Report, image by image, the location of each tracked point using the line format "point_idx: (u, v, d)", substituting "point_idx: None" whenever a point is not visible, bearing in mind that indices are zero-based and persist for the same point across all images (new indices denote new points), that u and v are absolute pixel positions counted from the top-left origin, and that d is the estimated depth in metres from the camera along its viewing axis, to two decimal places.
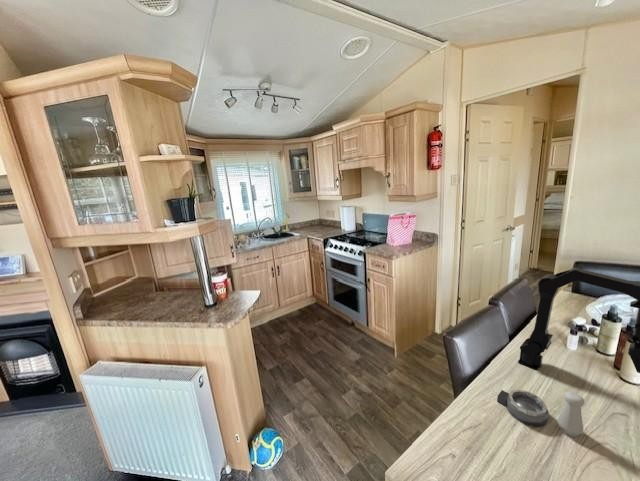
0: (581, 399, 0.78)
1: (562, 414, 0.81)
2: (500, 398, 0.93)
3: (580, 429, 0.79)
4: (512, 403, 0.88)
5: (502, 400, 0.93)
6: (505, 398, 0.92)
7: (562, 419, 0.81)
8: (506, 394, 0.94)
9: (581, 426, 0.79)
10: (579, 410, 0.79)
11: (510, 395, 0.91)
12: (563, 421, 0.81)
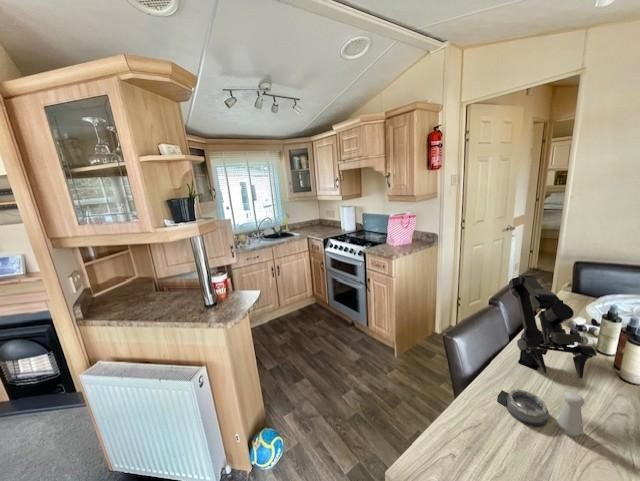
0: (581, 399, 0.78)
1: (562, 414, 0.81)
2: (500, 398, 0.93)
3: (580, 429, 0.79)
4: (512, 403, 0.88)
5: (502, 400, 0.93)
6: (505, 398, 0.92)
7: (562, 419, 0.81)
8: (506, 394, 0.94)
9: (581, 426, 0.79)
10: (579, 410, 0.79)
11: (510, 395, 0.91)
12: (563, 421, 0.81)
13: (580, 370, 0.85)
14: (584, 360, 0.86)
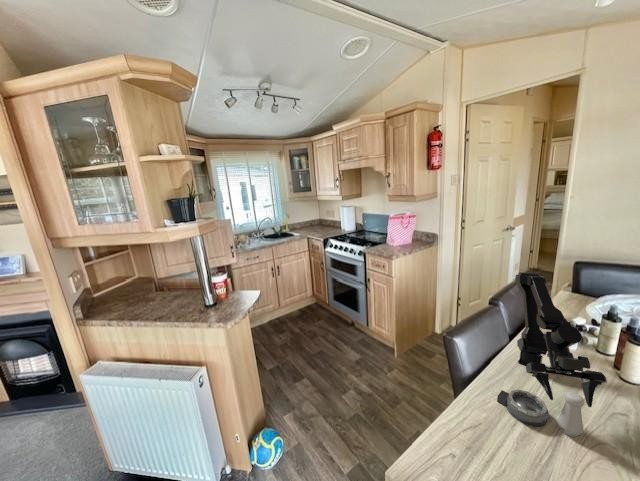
0: (581, 399, 0.78)
1: (562, 414, 0.81)
2: (500, 398, 0.93)
3: (580, 429, 0.79)
4: (512, 403, 0.88)
5: (502, 400, 0.93)
6: (505, 398, 0.92)
7: (562, 419, 0.81)
8: (506, 394, 0.94)
9: (581, 426, 0.79)
10: (579, 410, 0.79)
11: (510, 395, 0.91)
12: (563, 421, 0.81)
13: (589, 398, 0.80)
14: (593, 387, 0.81)
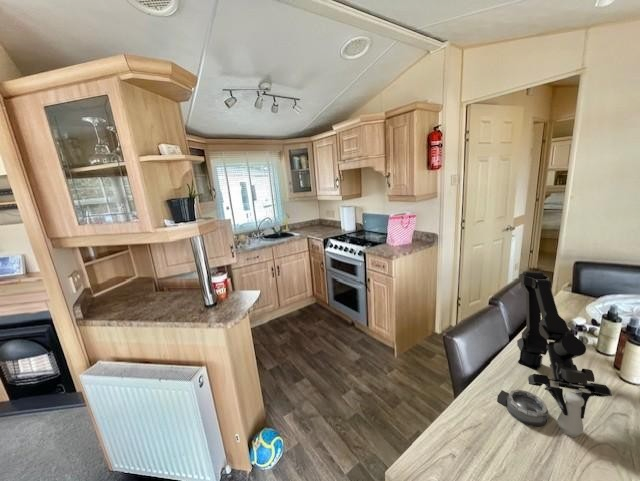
0: (581, 399, 0.78)
1: (562, 414, 0.81)
2: (500, 398, 0.93)
3: (580, 429, 0.79)
4: (512, 403, 0.88)
5: (502, 400, 0.93)
6: (505, 398, 0.92)
7: (562, 419, 0.81)
8: (506, 394, 0.94)
9: (581, 426, 0.79)
10: (579, 410, 0.79)
11: (510, 395, 0.91)
12: (564, 421, 0.81)
13: (581, 409, 0.79)
14: (586, 398, 0.80)
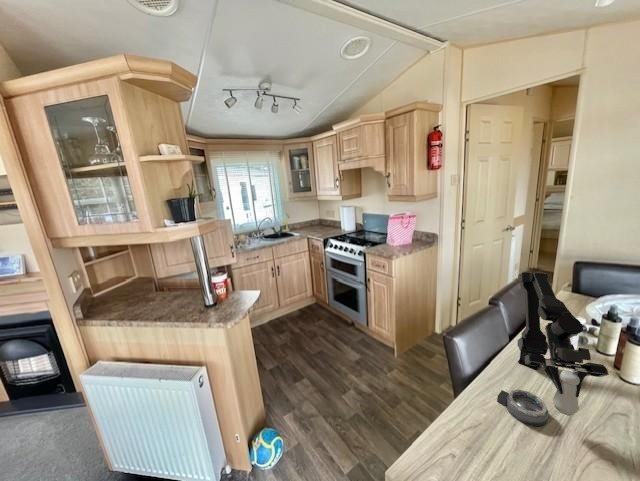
0: (576, 377, 0.78)
1: (557, 393, 0.81)
2: (500, 398, 0.93)
3: (575, 408, 0.78)
4: (512, 403, 0.88)
5: (502, 400, 0.93)
6: (505, 398, 0.92)
7: (557, 398, 0.81)
8: (506, 394, 0.94)
9: (576, 405, 0.79)
10: (574, 389, 0.78)
11: (510, 395, 0.91)
12: (559, 399, 0.81)
13: (577, 388, 0.79)
14: (582, 377, 0.79)
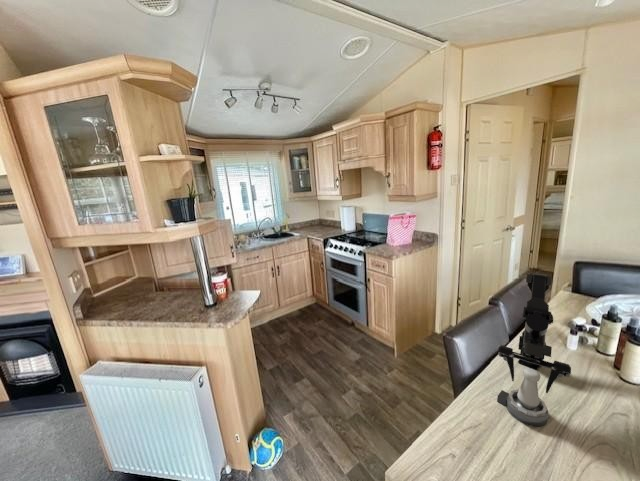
0: (536, 375, 0.84)
1: (520, 387, 0.89)
2: (500, 398, 0.93)
3: (533, 402, 0.85)
4: (512, 403, 0.88)
5: (502, 400, 0.93)
6: (505, 398, 0.92)
7: (519, 392, 0.89)
8: (506, 394, 0.94)
9: (535, 400, 0.85)
10: (534, 385, 0.85)
11: (510, 395, 0.91)
12: (520, 393, 0.88)
13: (548, 384, 0.83)
14: (554, 376, 0.83)
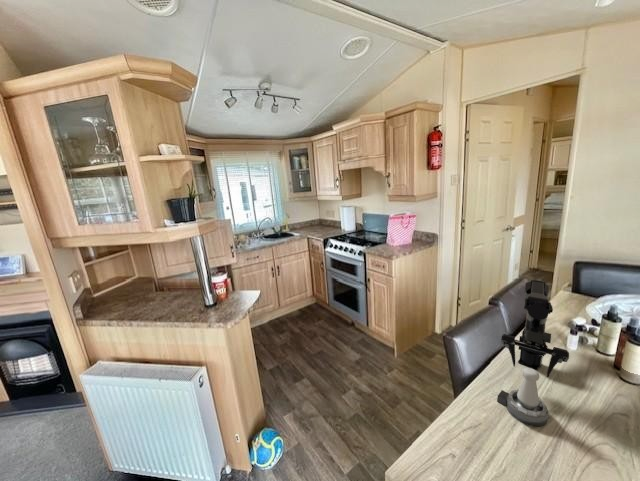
0: (535, 374, 0.85)
1: (520, 387, 0.89)
2: (500, 398, 0.93)
3: (533, 402, 0.85)
4: (512, 403, 0.88)
5: (502, 400, 0.93)
6: (505, 398, 0.92)
7: (519, 391, 0.89)
8: (506, 394, 0.94)
9: (535, 400, 0.85)
10: (533, 384, 0.85)
11: (510, 395, 0.91)
12: (520, 393, 0.88)
13: (548, 369, 0.90)
14: (555, 361, 0.90)
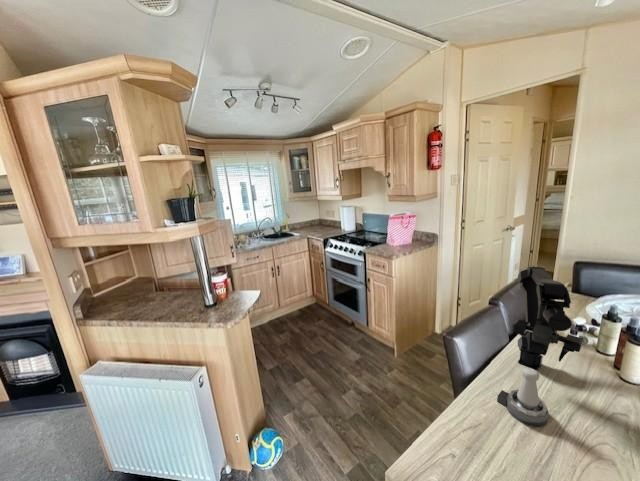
0: (535, 374, 0.85)
1: (520, 387, 0.89)
2: (500, 398, 0.93)
3: (533, 402, 0.85)
4: (512, 403, 0.88)
5: (502, 400, 0.93)
6: (505, 398, 0.92)
7: (519, 391, 0.89)
8: (506, 394, 0.94)
9: (535, 400, 0.85)
10: (533, 384, 0.85)
11: (510, 395, 0.91)
12: (519, 393, 0.88)
13: (560, 356, 0.93)
14: (566, 351, 0.90)
